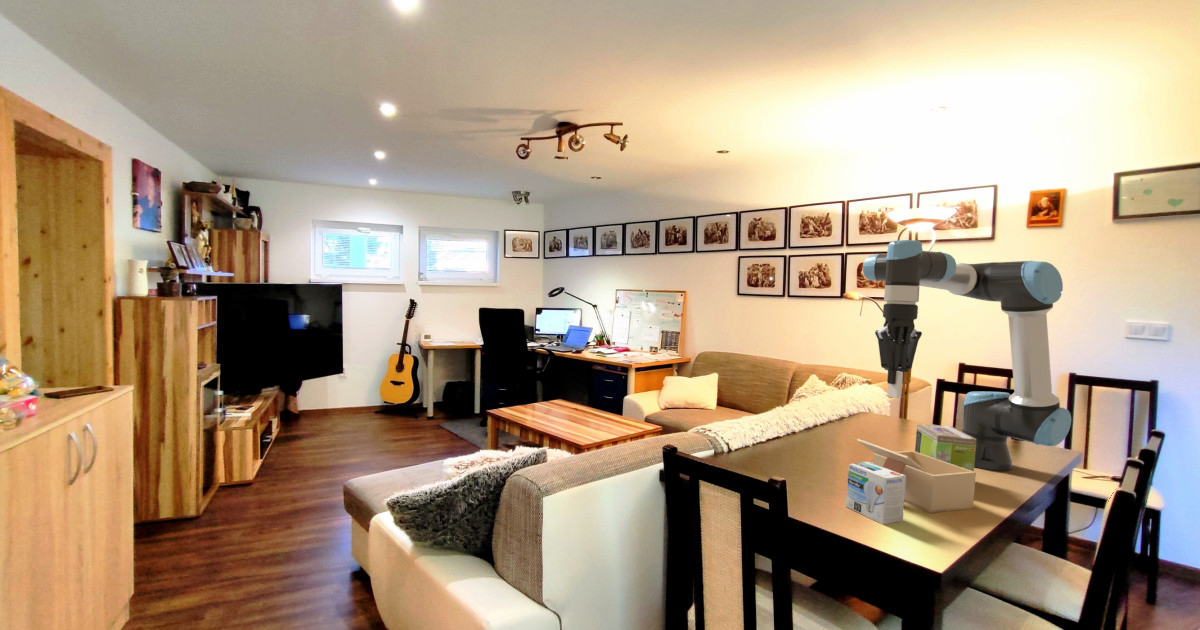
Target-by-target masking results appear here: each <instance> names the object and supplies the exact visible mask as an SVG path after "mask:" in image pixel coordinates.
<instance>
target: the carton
mask: <svg viewBox="0 0 1200 630" xmlns="http://www.w3.org/2000/svg"><path fill="white" fill-rule="evenodd" d="M896 452H897V453H900V454H902V455H905V456H908V457H909V458H911V459H912V460H913V461H915V462H916V463H917V464H919V465H920V466H922V467H923V468H924V469H926V470H927V472H923V471H921V470H918V469H915V468H913V467H910V466H907V465H906V466H905V468H904V470H903V472H902V474H903V475H906V483H905V495H904V503H908V504H910V505H911V506H914V507H916V508H919V509H921V510H923V511H925V512H928V513H930V514H933V513H943V512H950V511H951V512H953V511H960V510H968V509H969V510H970V509H974V502H975V501H974V500H975V489H976V487H975V485H976V475H977V472H976V471H974V472H973V471H970V470H967V469H965V468H962V467H959V466H956V465H953V464H950V463H947V462H944V461H941V460H938V459H935V458H932V457H929V456H927V455H924V454H921V453H918V452H915V450H904V451H903V450H901V451H896ZM872 453H873V454H872V463H873V464H875V465H878V466H881V467H883V465H884V463H885V461H886V459H887V458H886V457H884V456H881V455H878V454H876V453H874V452H872Z"/></svg>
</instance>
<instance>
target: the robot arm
mask: <svg viewBox="0 0 1200 630" xmlns="http://www.w3.org/2000/svg"><path fill="white" fill-rule="evenodd" d="M862 273H863V275H864V277H865V278H866V279H867V280H868V281H872V282H873V281H874V282H884V295H883V296H884V297H883V300H884V302H886V303H884V304H883V305H882V306H883V309H882V317H883V318H884V319H885V321H884V323H883V328H881V329H879V330H875V332H874V335H875V336H876V338H877V343H878V351H879V352H878V353H879V359H880V365H881V368H882V369H884V371H887V380H886V382H887V384H888V385H887V396H888V397H891V398H893V399H901V398H902V394H903V393H902V391H903V385H904V378H905V373H908V372H909V370H911V369H912V368H913V363H914V360H915V356H916V351H917V347H918V343H919V341H920V339H921V338H922V335H923V332H922V331H918V330H917V329H915V328H916V326H915V323H914V322H915V320H917V319H918V313H919V306H918V304H917V303H918V302H919V301H920V287H924V288H925V287H926V288H933V289H937V290H944V291H948V292H949V294H953V295H954V296H955V295H956V296H962V297H967V298H971V299H975V300H981V301H986V302H997V303H998V302H999V303H1000V308H1001V311H1002V312H1004V313H1005V314H1006V315H1007V316H1008V327H1009V329H1008V330H1009V340H1010V353H1011V355H1010V356H1011V366H1012V367H1011V368H1012V377H1013V378H1012V379H1013V390H1014V392H1013V393H1012V394H1011V393H1009V392H1005V391H1004V392H1003V391H1002V392H1001V391H984V390H983V391H976V390H975V391H969V392H967V393H966V395H965V397H964V403H963V415H962V416H963V417H962V418H963V419H962V432H964V433H965V434H967V435H969V436H971V437H973V438H975V439H976V451H975V462H974V468H979V469H984V470H989V471H1005V472H1006V471H1011V470H1012V469H1013V468H1012V467H1013V460H1012V457H1011V453H1010V450H1009V448H1008V443H1007V442H1008V441H1007V440H1008V438H1013V439H1016V440H1018V441H1019V440H1020V441H1024V442H1028V443H1032V444H1035V445H1036V446H1037V445H1040V446H1045V447H1055V446H1058V445H1060V444H1061V443H1062V442H1063V441H1065V439H1066V437H1067V435H1068V434H1069V432H1070V429H1071V427H1072V426H1071V425H1072V415H1071V414H1072V413H1071V412H1070V411H1069V409H1067V408H1064V407H1061V404H1060V398H1059V397H1058V396H1057V395H1055V394H1054V393H1053V389H1052V374H1051V373H1052V372H1051V360H1050V359H1051V358H1050V345H1049V330H1048V317H1047V316H1048V312H1050V311H1051V310H1052V309H1053V308H1054V304H1055V303H1057V302H1058V301H1059V300H1060V299H1061V297H1062V292H1063V287H1064V285H1063V279H1062V275H1061V273H1060V271H1059V270H1058V269H1057V267H1056V266H1055V265H1053V263H1050V262H1048V261H1035V260H1023V261H1021V260H1020V261H1019V260H1018V261H1000V262H999V261H998V262H997V261H994V262H993V261H992V262H983V263H979V262H978V263H965V262H964V263H963V262H960V263H959V262H958V263H957V261H956V259H955V258H954V257H953V255H951V254H949V253H946V252H942V251H930V250H928V251H926V250H924V249H923V243H922V242H921V241H919V240H914V239H913V240H912V239H910V240H909V239H907V240H906V239H905V240H904V239H902V240H892V241H891V242H889V243H888V245H887V253H878V254H876V253H875V254H871V255H868V256H867V257H866V258H865V260H864V261H863V264H862Z"/></svg>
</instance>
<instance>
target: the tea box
mask: <svg viewBox="0 0 1200 630" xmlns="http://www.w3.org/2000/svg"><path fill="white" fill-rule="evenodd" d="M915 435H916V436H915V446H914V447H915V448H914V449H915V450H914V451H915V452H918V453H921V454H924V455H927V456H929V457H932V458H935V459H938V460H941V461H944V462H947V463H950V464H953V465H956V466H959V467H962V468H965V469H967V470H970V471H973V472H975V467H974V462H975V451H976V439H975V438H973V437H971V436H969V435H967V434H965V433H964V432H962V431H961V430H960V429H957V428H955V427H954V426H949V425H946V426H945V425H937V424H927V423H917V424H916V432H915Z"/></svg>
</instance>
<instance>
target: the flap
mask: <svg viewBox="0 0 1200 630" xmlns="http://www.w3.org/2000/svg"><path fill="white" fill-rule="evenodd" d="M856 441H857V442H858V443H860V444H862V445H863V446H864V447H866V448H867V449H868V450H870V451H871V452H872V453H876V454H878V455H881V456H884V457H886V458H887V459H886V461H885V463H884V465H883V467H884V468H886V469H889V470H892V471H895V472H897V473H900V474H902V472H903V470H904V468H905V466H906V465H907V466H910V467H913V468H915V469H918V470H921V471H923V472H927V470H926V469H924V468H923V467H922V466H920V465H919V464H917V463H916V462H915V461H913V460H912V459H911V458H909V457H908V456H905V455H902V454H900V453H897V452H898V451H893V450H890V449H888V448H885V447H882V446H880V445H876V444H874V443H871V442H869V441H866V440H863V439H860V438H857V439H856Z"/></svg>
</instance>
